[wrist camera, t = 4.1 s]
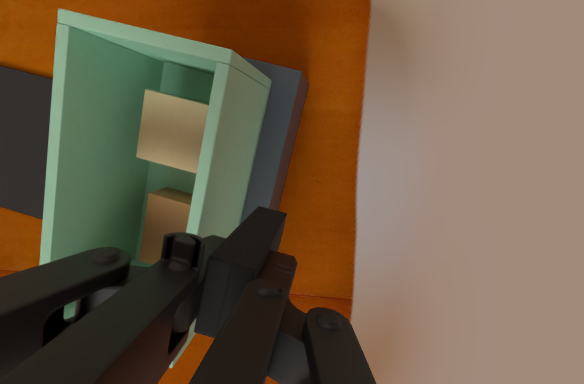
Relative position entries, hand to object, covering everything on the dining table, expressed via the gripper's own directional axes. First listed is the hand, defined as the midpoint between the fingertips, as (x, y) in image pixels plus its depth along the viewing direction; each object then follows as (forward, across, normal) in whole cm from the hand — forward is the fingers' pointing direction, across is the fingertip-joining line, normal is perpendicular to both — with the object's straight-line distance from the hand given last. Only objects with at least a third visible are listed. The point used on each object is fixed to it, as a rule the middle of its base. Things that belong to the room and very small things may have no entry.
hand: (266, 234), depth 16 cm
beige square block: (+6, -7, +4) cm, 10 cm away
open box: (+7, -7, 0) cm, 10 cm away
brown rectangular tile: (+6, -7, -3) cm, 10 cm away
